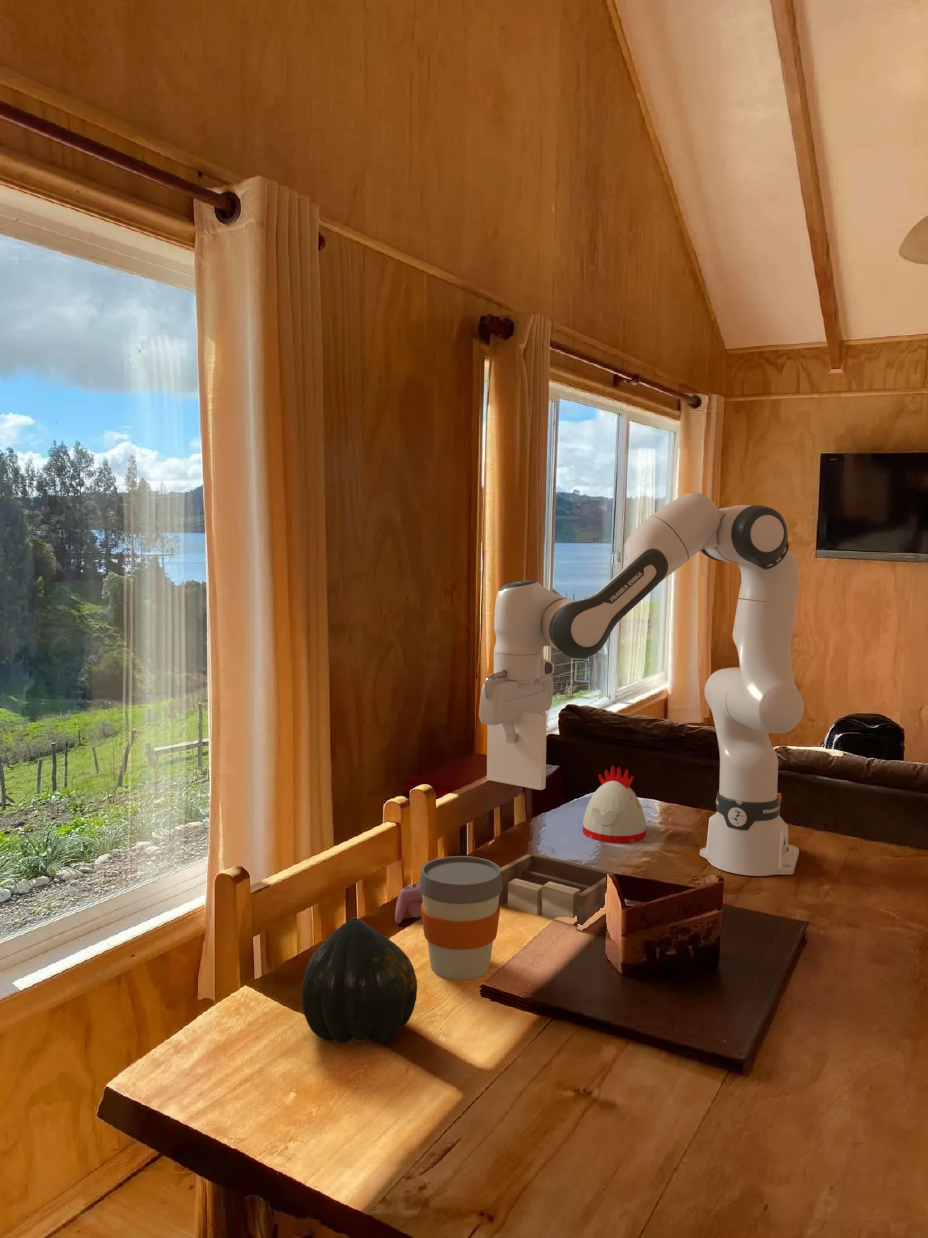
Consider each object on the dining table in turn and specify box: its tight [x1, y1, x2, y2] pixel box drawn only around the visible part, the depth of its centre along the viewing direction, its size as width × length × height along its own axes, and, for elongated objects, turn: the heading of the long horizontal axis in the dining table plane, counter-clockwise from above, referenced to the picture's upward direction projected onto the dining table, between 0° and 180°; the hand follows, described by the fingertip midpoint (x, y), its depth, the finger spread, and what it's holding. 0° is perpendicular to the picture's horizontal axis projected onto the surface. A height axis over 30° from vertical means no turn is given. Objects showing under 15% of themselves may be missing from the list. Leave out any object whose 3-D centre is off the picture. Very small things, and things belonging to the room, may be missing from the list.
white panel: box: [486, 711, 548, 791], centre depth 172 cm, size 2×12×14 cm, turn 54°
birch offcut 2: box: [541, 882, 580, 921], centre depth 157 cm, size 2×6×6 cm, turn 54°
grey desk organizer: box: [498, 852, 619, 925], centre depth 162 cm, size 13×18×6 cm
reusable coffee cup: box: [419, 855, 502, 981], centre depth 139 cm, size 13×13×15 cm
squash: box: [300, 916, 418, 1045], centre depth 121 cm, size 14×15×15 cm
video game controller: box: [394, 882, 423, 925], centre depth 156 cm, size 10×5×7 cm, turn 85°
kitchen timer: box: [582, 765, 647, 844], centre depth 203 cm, size 14×14×15 cm
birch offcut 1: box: [507, 878, 542, 916], centre depth 161 cm, size 2×6×4 cm, turn 54°
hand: (516, 741), depth 171 cm, fingers closed on white panel, 2 cm apart
